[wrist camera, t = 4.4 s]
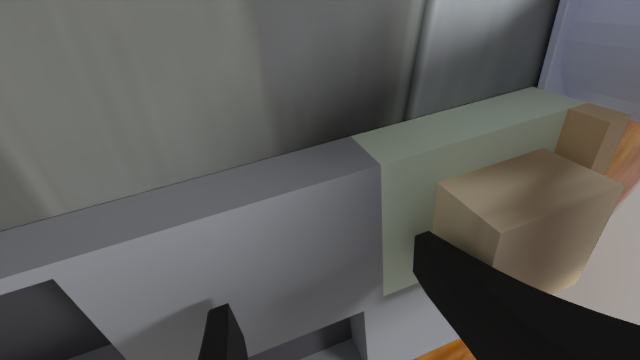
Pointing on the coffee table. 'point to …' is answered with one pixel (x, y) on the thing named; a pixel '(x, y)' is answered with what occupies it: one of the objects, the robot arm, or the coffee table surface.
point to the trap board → (277, 244)
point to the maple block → (528, 216)
